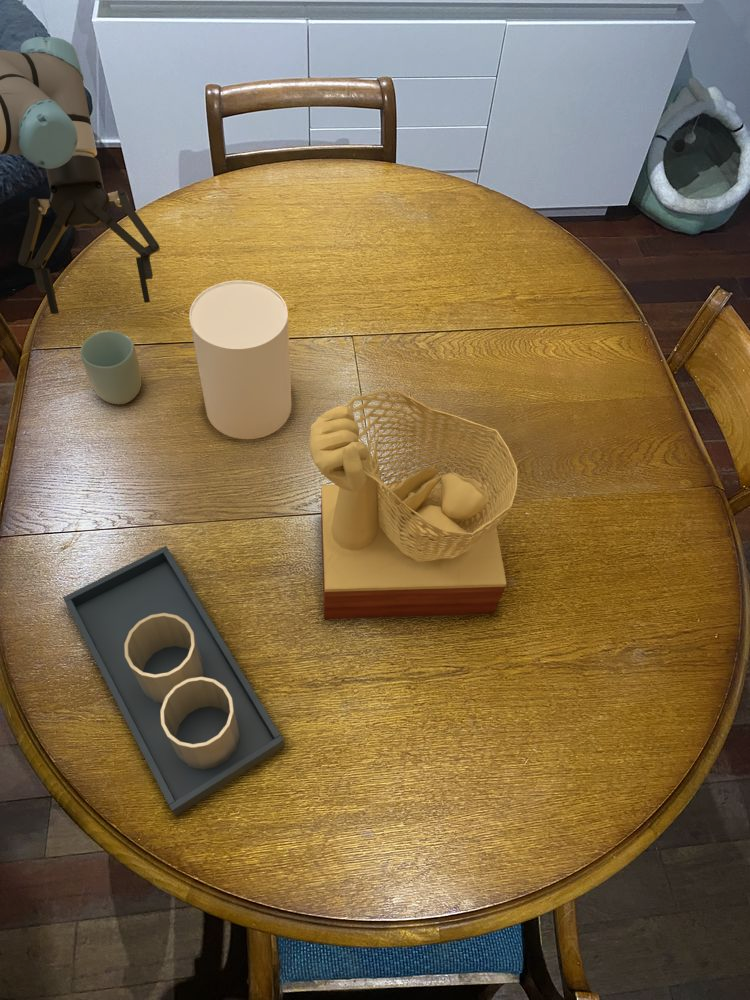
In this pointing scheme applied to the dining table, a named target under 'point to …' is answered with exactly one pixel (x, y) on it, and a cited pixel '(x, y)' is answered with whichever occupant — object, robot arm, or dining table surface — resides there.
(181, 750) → the cup
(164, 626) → the cup
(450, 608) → the basket
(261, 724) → the tray
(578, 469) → the dining table surface
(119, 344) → the cup
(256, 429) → the canister
